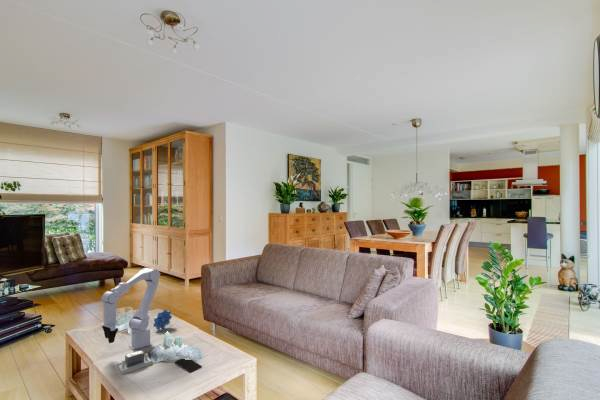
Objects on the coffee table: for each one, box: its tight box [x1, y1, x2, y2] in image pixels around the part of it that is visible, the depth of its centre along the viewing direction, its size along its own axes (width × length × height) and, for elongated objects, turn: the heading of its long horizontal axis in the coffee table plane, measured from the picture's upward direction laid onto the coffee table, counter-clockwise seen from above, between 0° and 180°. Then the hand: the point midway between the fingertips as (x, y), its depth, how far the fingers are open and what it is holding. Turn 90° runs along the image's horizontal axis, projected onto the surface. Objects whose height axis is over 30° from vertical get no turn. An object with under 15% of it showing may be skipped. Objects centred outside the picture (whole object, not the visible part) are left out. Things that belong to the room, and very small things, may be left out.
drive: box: [124, 350, 146, 368], centre depth 159 cm, size 8×4×5 cm, turn 133°
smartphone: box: [173, 358, 203, 374], centre depth 160 cm, size 7×1×15 cm
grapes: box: [153, 309, 173, 331], centre depth 205 cm, size 12×7×12 cm, turn 135°
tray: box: [116, 353, 153, 375], centre depth 159 cm, size 14×9×4 cm, turn 133°
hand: (109, 340), depth 165 cm, fingers open, 7 cm apart
